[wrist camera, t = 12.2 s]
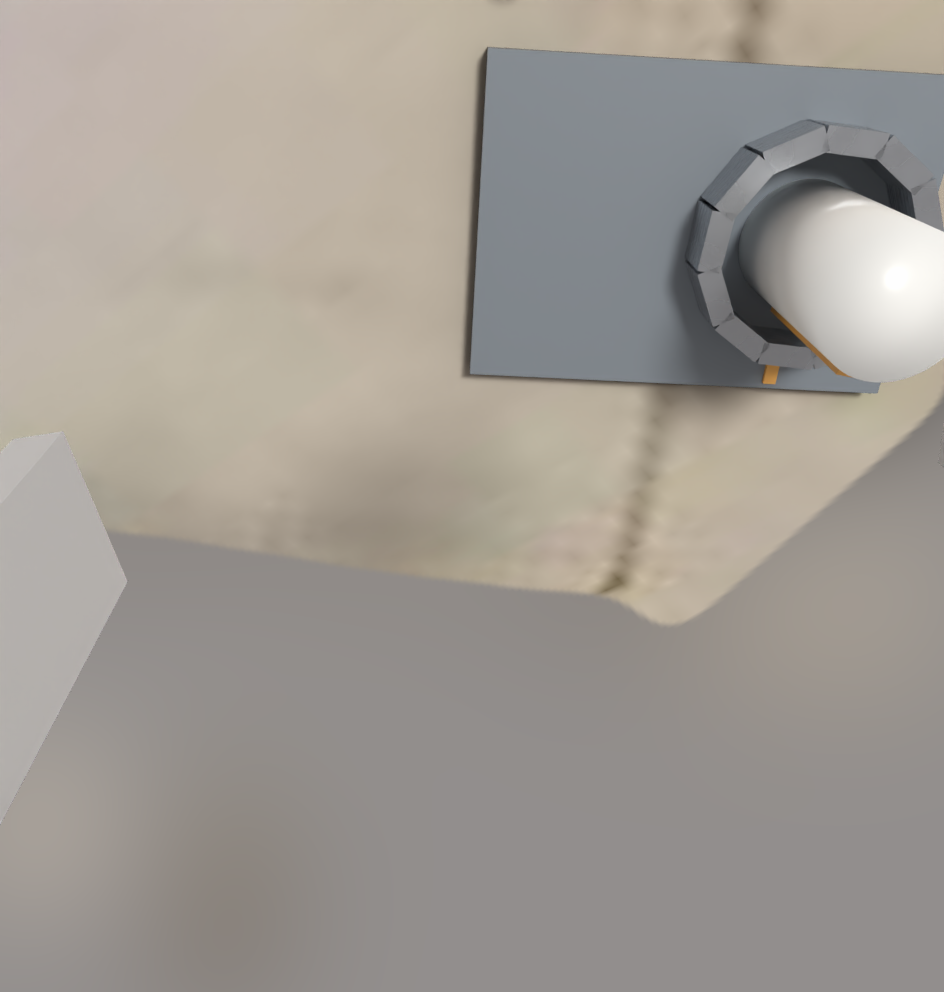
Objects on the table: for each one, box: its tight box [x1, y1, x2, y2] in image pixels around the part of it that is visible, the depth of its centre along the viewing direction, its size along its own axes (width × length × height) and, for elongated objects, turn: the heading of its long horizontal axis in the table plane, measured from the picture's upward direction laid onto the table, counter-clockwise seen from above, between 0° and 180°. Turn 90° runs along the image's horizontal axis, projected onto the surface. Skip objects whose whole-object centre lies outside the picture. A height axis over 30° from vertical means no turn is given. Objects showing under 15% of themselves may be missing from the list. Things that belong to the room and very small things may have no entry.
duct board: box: [470, 47, 944, 393], centre depth 39 cm, size 20×14×1 cm
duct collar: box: [685, 119, 944, 370], centre depth 38 cm, size 10×10×2 cm
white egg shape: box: [739, 178, 944, 382], centre depth 34 cm, size 6×6×10 cm
